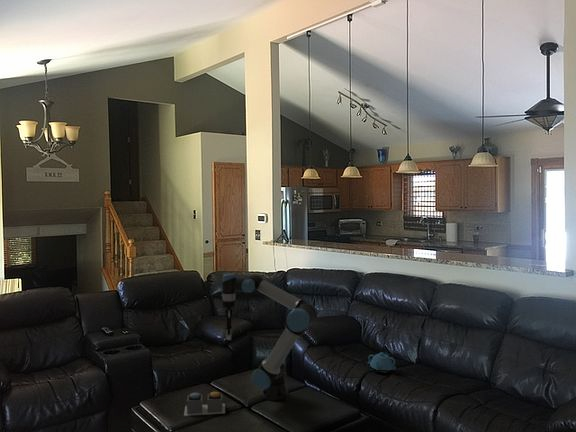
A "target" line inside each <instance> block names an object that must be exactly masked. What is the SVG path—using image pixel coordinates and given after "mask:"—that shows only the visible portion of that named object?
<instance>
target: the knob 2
mask: <svg viewBox="0 0 576 432" xmlns="http://www.w3.org/2000/svg"><path fill="white" fill-rule="evenodd" d="M220 393H221V392H220V391H212V392H210V393H209V394H210V397H211V399H219V396H220Z"/></svg>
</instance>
